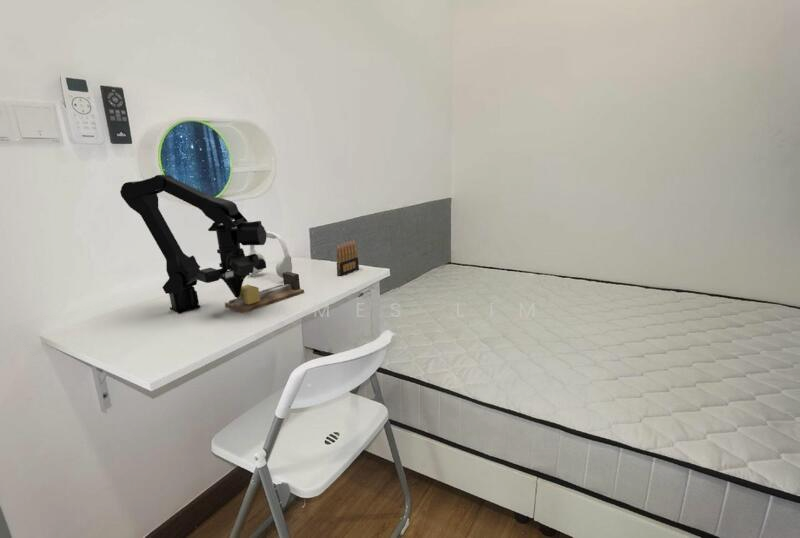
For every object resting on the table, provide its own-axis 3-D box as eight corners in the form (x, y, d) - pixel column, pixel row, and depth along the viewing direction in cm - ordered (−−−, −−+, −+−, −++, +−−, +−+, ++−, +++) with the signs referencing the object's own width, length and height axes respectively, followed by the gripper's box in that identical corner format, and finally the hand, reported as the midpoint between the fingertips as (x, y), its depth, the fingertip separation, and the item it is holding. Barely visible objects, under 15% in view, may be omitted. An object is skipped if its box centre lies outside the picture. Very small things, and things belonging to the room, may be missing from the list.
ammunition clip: (355, 268, 163) (353, 238, 159) (359, 269, 162) (357, 239, 158) (337, 275, 154) (334, 244, 151) (340, 276, 153) (338, 244, 150)
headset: (297, 279, 151) (292, 231, 147) (282, 285, 146) (276, 235, 141) (262, 272, 162) (256, 227, 157) (246, 277, 157) (240, 230, 152)
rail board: (243, 313, 120) (240, 293, 118) (225, 306, 126) (222, 287, 124) (304, 292, 136) (302, 275, 135) (285, 287, 142) (283, 270, 141)
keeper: (248, 304, 123) (246, 291, 122) (237, 300, 127) (235, 287, 126) (260, 300, 126) (258, 287, 125) (249, 297, 130) (247, 284, 129)
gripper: (211, 255, 107) (220, 312, 111) (273, 242, 121) (279, 293, 125) (191, 250, 114) (201, 304, 118) (252, 238, 128) (259, 287, 132)
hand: (237, 297), depth 123 cm, fingers closed
